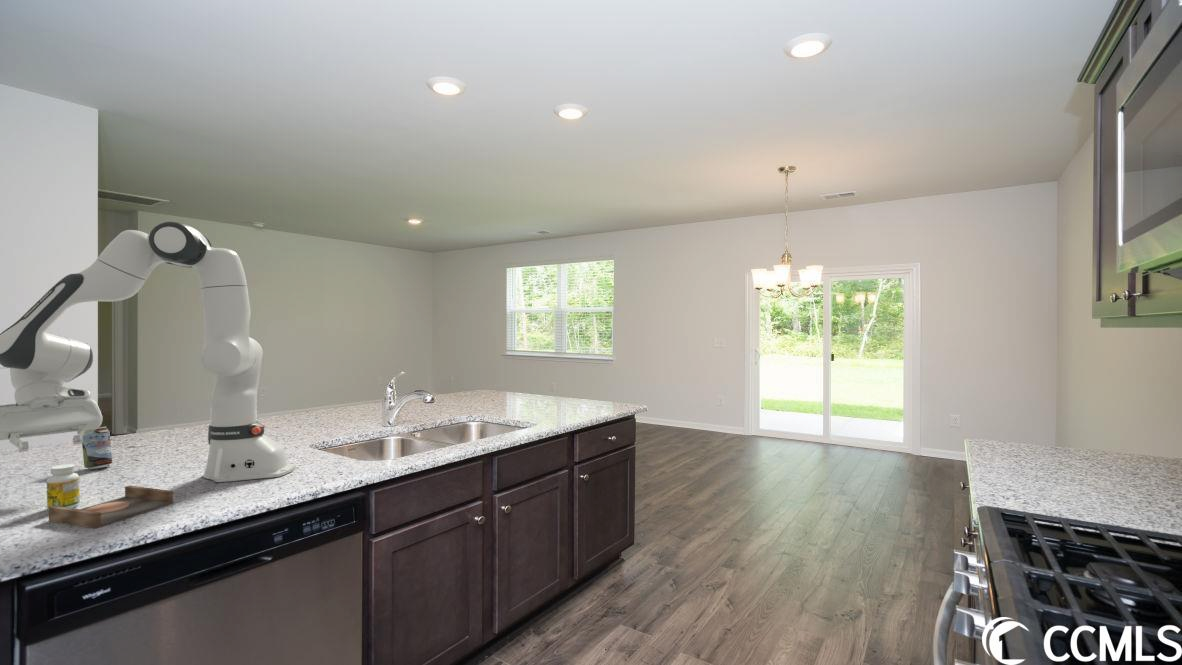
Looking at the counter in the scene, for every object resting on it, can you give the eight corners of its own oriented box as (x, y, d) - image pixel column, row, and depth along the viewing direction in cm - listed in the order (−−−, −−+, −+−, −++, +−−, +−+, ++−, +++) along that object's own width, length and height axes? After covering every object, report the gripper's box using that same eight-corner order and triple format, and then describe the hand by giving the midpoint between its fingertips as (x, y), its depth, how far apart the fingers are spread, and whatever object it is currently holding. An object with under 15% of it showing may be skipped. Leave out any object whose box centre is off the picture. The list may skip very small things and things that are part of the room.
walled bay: (48, 520, 116) (48, 507, 116) (129, 497, 131) (129, 485, 131) (95, 528, 112) (95, 514, 112) (173, 503, 128) (173, 491, 128)
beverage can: (95, 472, 152) (95, 430, 152) (74, 470, 154) (74, 428, 154) (118, 466, 158) (118, 425, 158) (98, 464, 160) (98, 424, 160)
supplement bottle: (84, 505, 126) (84, 464, 125) (55, 513, 121) (54, 470, 120) (71, 502, 128) (71, 462, 127) (41, 509, 123) (41, 467, 122)
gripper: (-19, 398, 125) (-11, 446, 120) (97, 390, 142) (109, 431, 137) (-22, 415, 128) (-14, 463, 122) (92, 405, 145) (104, 446, 139)
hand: (52, 446), depth 130 cm, fingers open, 8 cm apart
